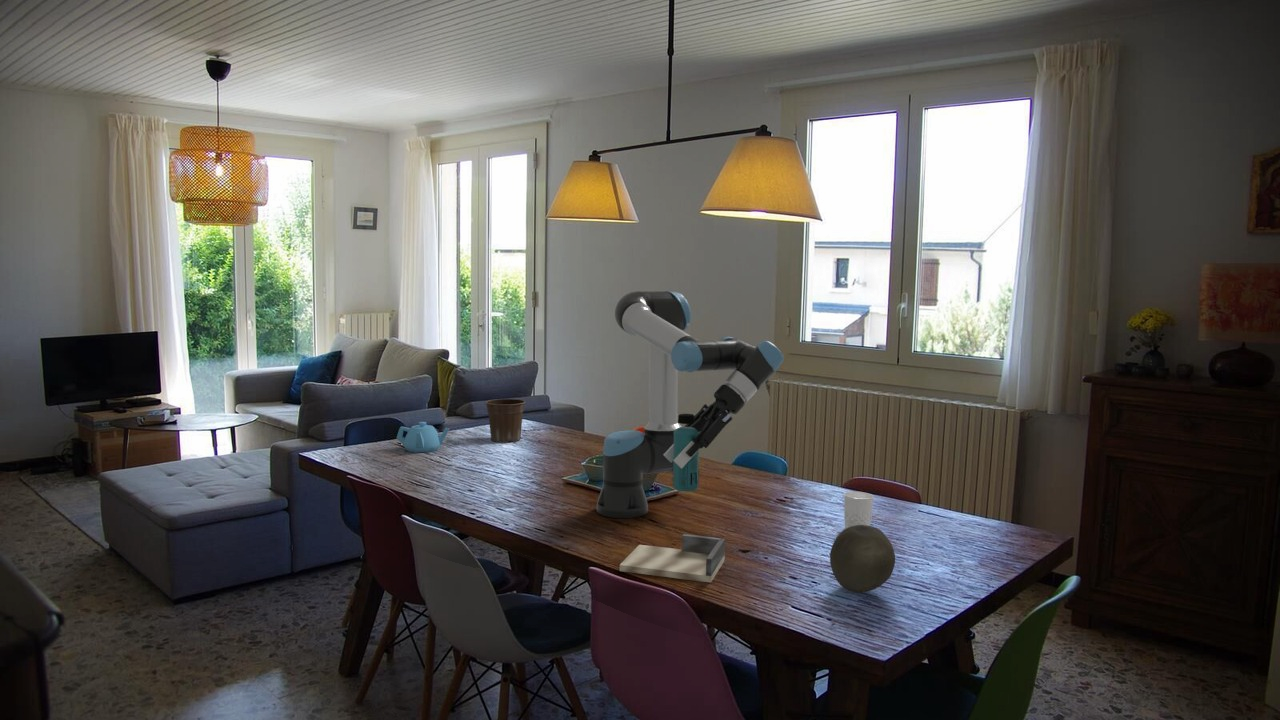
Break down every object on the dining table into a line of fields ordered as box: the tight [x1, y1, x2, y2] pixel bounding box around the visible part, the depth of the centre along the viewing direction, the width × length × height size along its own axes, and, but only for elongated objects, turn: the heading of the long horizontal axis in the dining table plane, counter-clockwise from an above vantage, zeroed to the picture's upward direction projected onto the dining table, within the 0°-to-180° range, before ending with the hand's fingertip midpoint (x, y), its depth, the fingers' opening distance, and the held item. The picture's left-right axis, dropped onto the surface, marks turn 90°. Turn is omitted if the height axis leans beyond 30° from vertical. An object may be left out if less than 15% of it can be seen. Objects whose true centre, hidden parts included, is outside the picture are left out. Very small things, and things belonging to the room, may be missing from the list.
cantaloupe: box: [829, 525, 896, 594], centre depth 190 cm, size 14×14×15 cm
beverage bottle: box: [672, 413, 700, 492], centre depth 209 cm, size 6×7×20 cm
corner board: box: [619, 533, 726, 584], centre depth 205 cm, size 22×16×6 cm
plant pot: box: [485, 398, 526, 443], centre depth 352 cm, size 16×16×16 cm
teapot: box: [396, 421, 450, 453], centre depth 330 cm, size 15×15×11 cm
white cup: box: [843, 491, 874, 530], centre depth 237 cm, size 8×8×10 cm
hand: (672, 461), depth 208 cm, fingers closed on beverage bottle, 6 cm apart
